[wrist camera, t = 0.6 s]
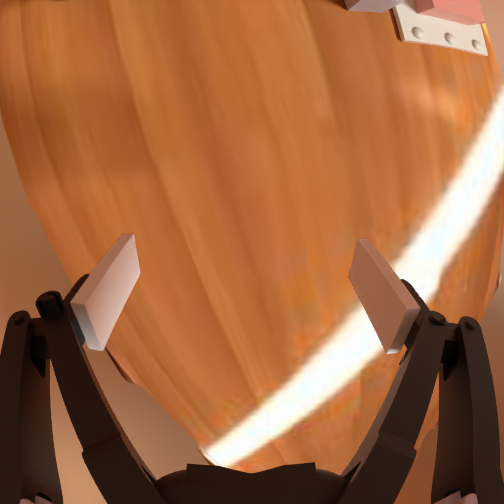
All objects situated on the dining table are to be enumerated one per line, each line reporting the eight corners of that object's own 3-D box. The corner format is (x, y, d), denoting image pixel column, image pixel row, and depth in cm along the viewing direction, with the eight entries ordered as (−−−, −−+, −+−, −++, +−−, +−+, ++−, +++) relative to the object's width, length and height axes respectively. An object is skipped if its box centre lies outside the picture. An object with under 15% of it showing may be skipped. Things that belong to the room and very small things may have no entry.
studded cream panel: (374, -39, 22) (390, -53, 16) (462, -17, 20) (481, -22, 15) (401, 41, 29) (422, 35, 24) (483, 55, 28) (505, 55, 22)
